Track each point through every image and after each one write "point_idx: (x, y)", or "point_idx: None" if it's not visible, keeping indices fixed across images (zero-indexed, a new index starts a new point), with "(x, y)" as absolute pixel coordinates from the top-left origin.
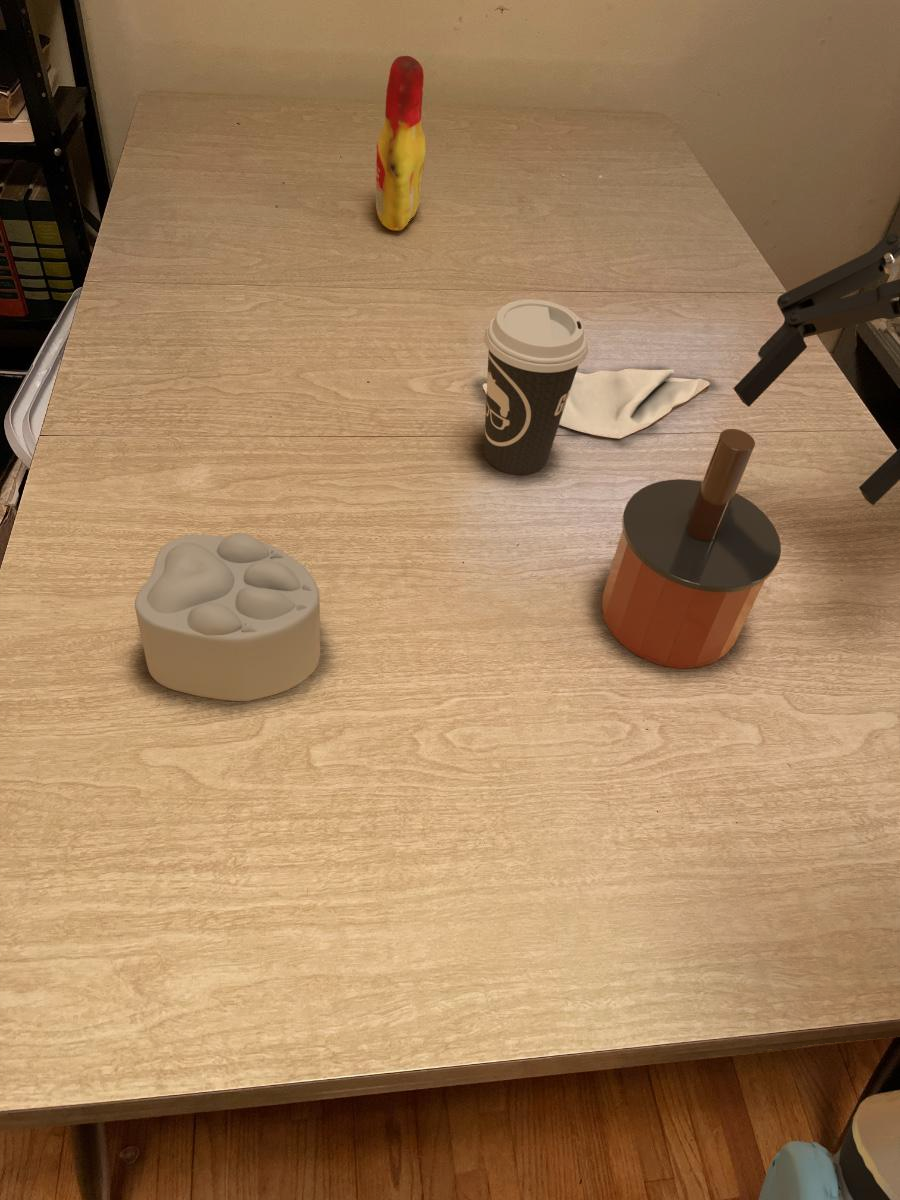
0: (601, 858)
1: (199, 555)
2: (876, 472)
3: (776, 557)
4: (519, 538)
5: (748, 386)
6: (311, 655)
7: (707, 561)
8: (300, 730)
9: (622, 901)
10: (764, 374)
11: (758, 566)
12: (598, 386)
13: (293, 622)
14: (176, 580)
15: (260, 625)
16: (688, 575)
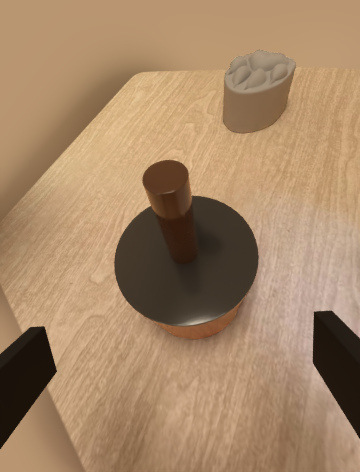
0: (97, 184)
1: (272, 55)
2: (18, 349)
3: (124, 291)
4: (294, 234)
5: (323, 328)
6: (228, 117)
7: (151, 233)
8: (203, 122)
9: (80, 184)
10: (346, 369)
11: (125, 268)
12: None
13: (227, 84)
14: (259, 51)
15: (229, 76)
16: (148, 213)
